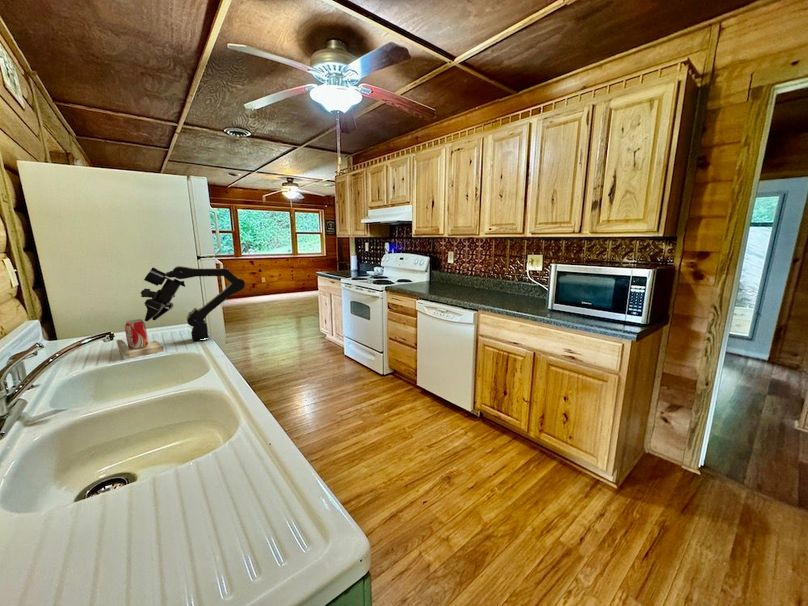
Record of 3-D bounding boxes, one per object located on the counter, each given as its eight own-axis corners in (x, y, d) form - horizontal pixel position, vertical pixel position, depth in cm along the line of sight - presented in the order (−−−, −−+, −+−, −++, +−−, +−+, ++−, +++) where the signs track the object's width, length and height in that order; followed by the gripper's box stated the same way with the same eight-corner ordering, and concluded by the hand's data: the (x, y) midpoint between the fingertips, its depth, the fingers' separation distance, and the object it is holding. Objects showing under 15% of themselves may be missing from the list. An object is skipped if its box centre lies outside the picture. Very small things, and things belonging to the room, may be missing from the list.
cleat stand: (156, 345, 155) (154, 333, 153) (163, 351, 147) (161, 338, 146) (119, 353, 144) (116, 340, 143) (124, 359, 137) (122, 345, 136)
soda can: (147, 348, 143) (142, 321, 141) (126, 350, 140) (121, 323, 138) (150, 343, 149) (145, 318, 147) (130, 346, 146) (125, 320, 144)
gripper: (157, 283, 159) (138, 311, 156) (142, 281, 141) (121, 313, 139) (181, 294, 162) (163, 322, 160) (169, 293, 145) (149, 325, 142)
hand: (149, 320), depth 150 cm, fingers open, 9 cm apart
